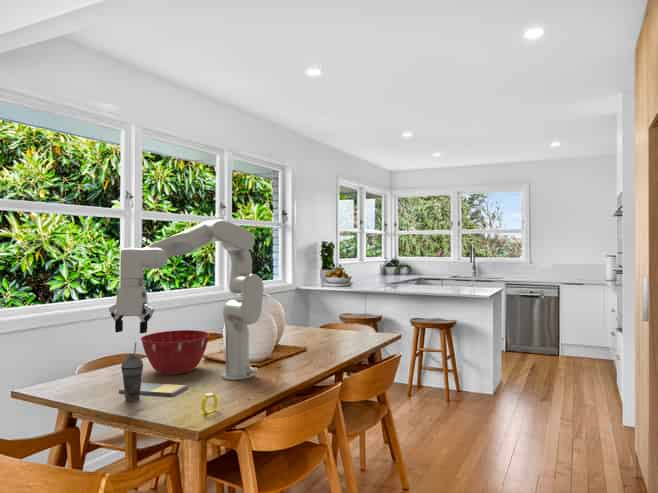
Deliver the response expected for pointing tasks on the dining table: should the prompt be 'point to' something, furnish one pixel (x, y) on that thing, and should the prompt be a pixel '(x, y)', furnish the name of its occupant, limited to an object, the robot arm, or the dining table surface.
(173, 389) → the grey yellow flat slab
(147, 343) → the mixing bowl
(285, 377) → the dining table surface
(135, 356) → the beverage cup
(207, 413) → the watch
